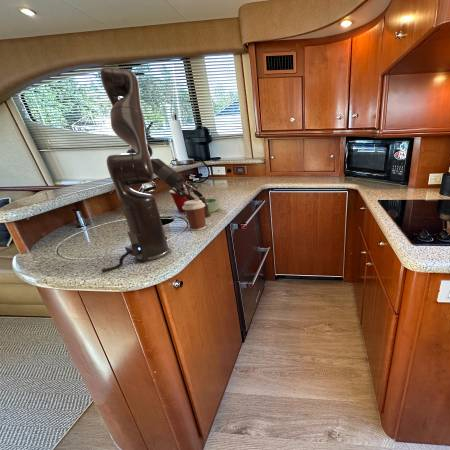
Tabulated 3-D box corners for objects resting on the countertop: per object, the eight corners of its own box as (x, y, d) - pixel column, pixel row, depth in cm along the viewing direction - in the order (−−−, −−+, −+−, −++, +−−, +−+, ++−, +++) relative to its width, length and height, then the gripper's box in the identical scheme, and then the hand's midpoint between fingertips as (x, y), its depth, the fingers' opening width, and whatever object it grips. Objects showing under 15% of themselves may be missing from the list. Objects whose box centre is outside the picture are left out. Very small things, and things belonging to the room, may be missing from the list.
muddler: (205, 217, 119) (201, 198, 115) (199, 216, 121) (195, 197, 117) (211, 215, 122) (207, 196, 118) (206, 214, 124) (202, 196, 120)
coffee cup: (198, 223, 110) (193, 198, 106) (213, 225, 107) (208, 199, 103) (182, 230, 103) (176, 203, 99) (198, 232, 99) (192, 205, 95)
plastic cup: (189, 213, 128) (185, 191, 124) (170, 214, 129) (164, 192, 125) (198, 207, 138) (194, 187, 134) (180, 208, 139) (175, 188, 135)
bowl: (204, 215, 123) (202, 205, 121) (190, 212, 129) (187, 203, 127) (223, 209, 133) (222, 199, 131) (209, 206, 139) (207, 197, 137)
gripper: (165, 173, 107) (195, 196, 110) (181, 169, 120) (207, 190, 124) (157, 185, 109) (187, 208, 112) (173, 180, 122) (200, 200, 126)
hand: (198, 198), depth 118 cm, fingers open, 8 cm apart
